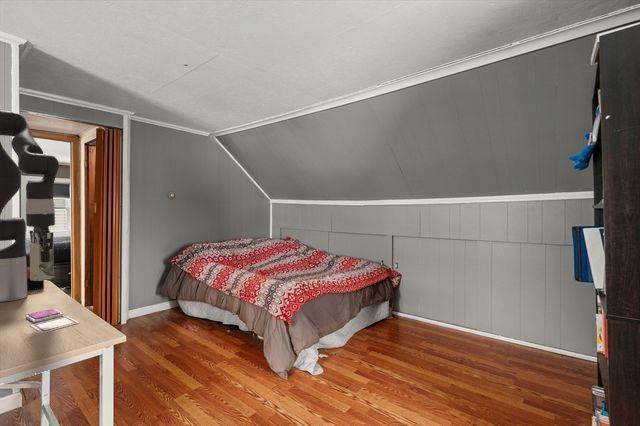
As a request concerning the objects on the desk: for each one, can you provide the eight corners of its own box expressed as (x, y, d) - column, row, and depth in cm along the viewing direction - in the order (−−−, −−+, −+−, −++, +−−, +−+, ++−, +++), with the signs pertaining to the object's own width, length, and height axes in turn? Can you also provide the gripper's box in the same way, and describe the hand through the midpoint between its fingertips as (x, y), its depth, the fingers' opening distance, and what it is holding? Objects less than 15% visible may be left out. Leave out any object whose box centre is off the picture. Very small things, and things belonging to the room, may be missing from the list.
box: (39, 281, 110) (38, 243, 109) (29, 280, 111) (28, 243, 110) (55, 277, 115) (54, 241, 115) (45, 276, 116) (44, 241, 115)
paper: (30, 326, 106) (30, 325, 106) (67, 316, 114) (67, 315, 114) (41, 333, 101) (41, 332, 101) (79, 323, 109) (79, 321, 109)
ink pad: (25, 318, 113) (25, 314, 113) (53, 311, 119) (53, 307, 119) (34, 323, 108) (33, 319, 108) (62, 316, 115) (62, 312, 115)
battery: (22, 289, 146) (21, 267, 145) (41, 286, 151) (40, 265, 151) (24, 291, 143) (23, 269, 143) (44, 288, 148) (43, 266, 148)
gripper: (19, 211, 113) (21, 260, 114) (34, 213, 105) (36, 265, 106) (46, 211, 119) (47, 257, 120) (62, 212, 111) (63, 261, 112)
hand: (42, 260), depth 113 cm, fingers closed on box, 5 cm apart
